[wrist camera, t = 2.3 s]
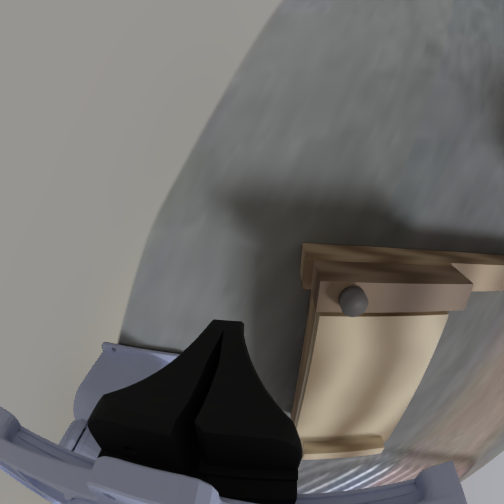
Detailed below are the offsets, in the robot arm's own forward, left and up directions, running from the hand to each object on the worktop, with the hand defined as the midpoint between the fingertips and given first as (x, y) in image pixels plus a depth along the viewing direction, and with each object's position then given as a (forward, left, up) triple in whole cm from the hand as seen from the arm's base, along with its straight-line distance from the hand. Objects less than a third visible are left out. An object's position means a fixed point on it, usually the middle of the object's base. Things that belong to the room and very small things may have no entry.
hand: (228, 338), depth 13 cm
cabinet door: (+10, 0, -7) cm, 12 cm away
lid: (+10, -10, -7) cm, 16 cm away
